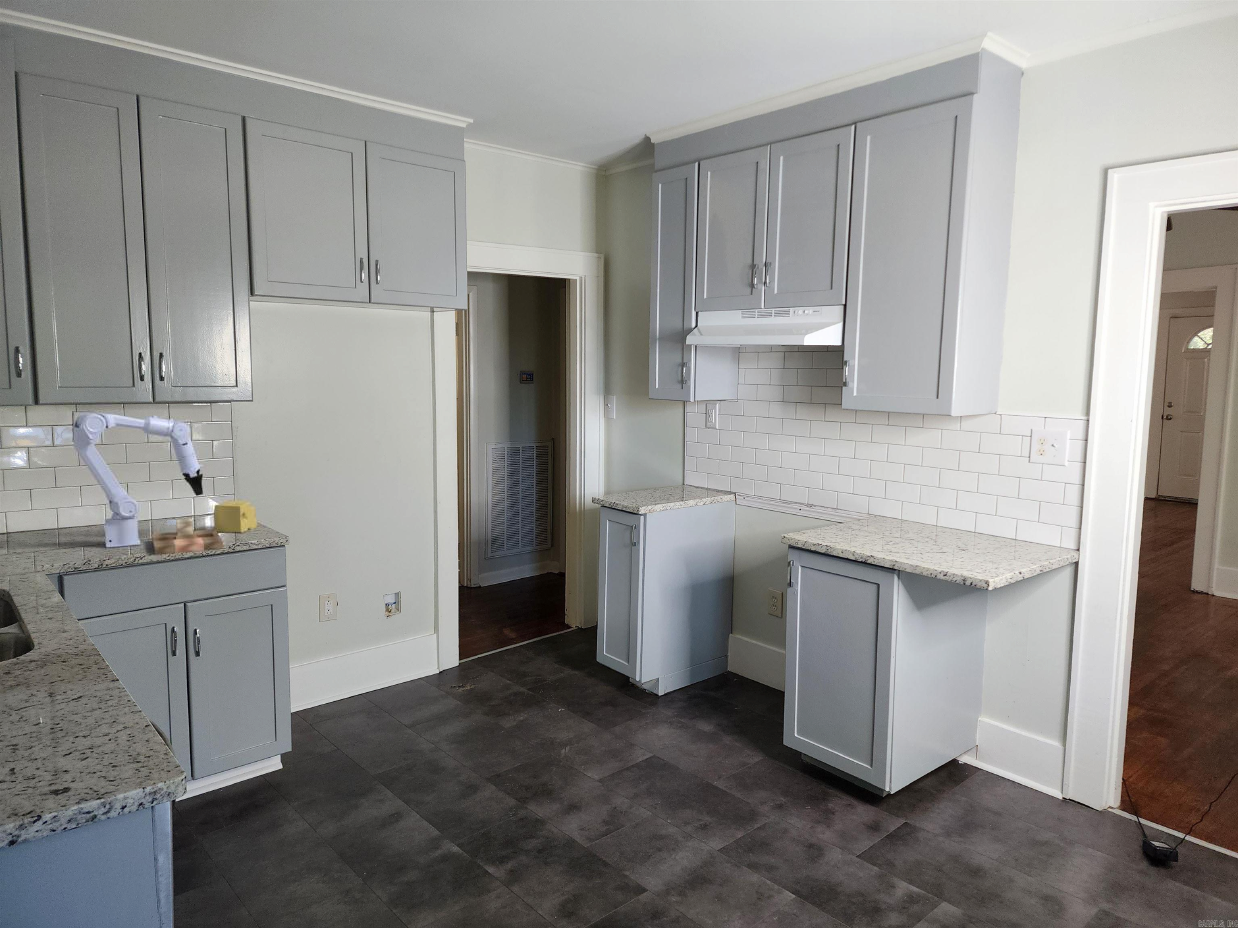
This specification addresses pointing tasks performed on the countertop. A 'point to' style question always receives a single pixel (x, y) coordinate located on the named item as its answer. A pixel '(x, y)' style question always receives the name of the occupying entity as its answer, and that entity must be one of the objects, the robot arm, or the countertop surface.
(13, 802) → the countertop surface
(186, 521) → the block
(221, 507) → the cheese
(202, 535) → the trap deck
